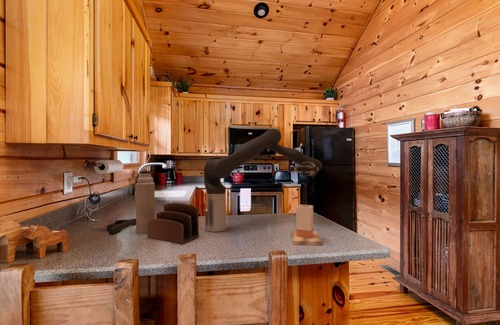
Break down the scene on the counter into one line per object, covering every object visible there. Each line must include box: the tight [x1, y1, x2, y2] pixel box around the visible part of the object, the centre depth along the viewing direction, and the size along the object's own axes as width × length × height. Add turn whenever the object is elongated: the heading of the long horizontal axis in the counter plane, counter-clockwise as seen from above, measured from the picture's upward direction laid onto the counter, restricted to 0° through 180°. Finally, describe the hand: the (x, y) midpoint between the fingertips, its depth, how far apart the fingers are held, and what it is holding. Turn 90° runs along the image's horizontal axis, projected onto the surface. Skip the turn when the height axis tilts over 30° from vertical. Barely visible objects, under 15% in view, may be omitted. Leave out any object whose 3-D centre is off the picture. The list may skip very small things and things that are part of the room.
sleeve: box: [295, 204, 314, 238], centre depth 99 cm, size 6×6×12 cm
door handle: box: [91, 217, 136, 235], centre depth 118 cm, size 3×20×16 cm
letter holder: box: [147, 202, 200, 245], centre depth 103 cm, size 10×20×14 cm, turn 63°
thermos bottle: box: [135, 170, 156, 235], centre depth 112 cm, size 8×8×28 cm
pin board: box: [290, 230, 323, 246], centre depth 99 cm, size 11×14×6 cm
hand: (299, 169), depth 116 cm, fingers open, 8 cm apart
